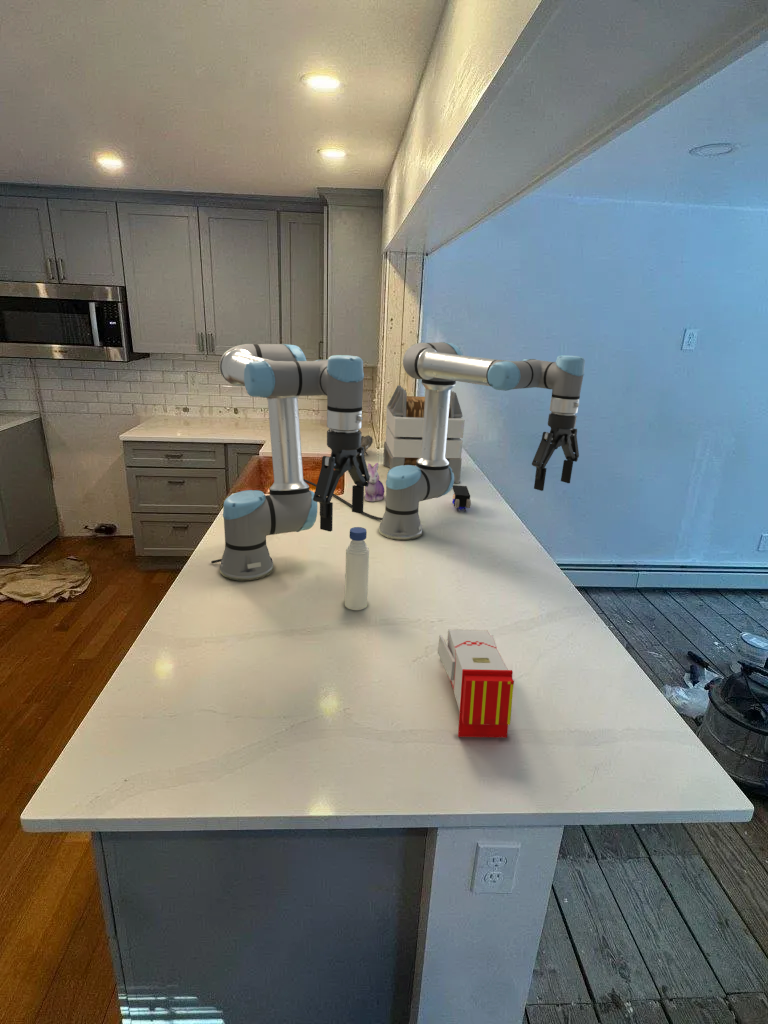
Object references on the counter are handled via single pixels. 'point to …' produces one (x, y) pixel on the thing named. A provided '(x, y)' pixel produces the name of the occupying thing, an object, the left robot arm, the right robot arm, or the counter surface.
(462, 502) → the figurine character
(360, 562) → the bottle
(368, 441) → the fossil
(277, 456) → the left robot arm
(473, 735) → the toy
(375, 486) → the figurine
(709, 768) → the counter surface
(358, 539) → the cap
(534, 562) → the counter surface
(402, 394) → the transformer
